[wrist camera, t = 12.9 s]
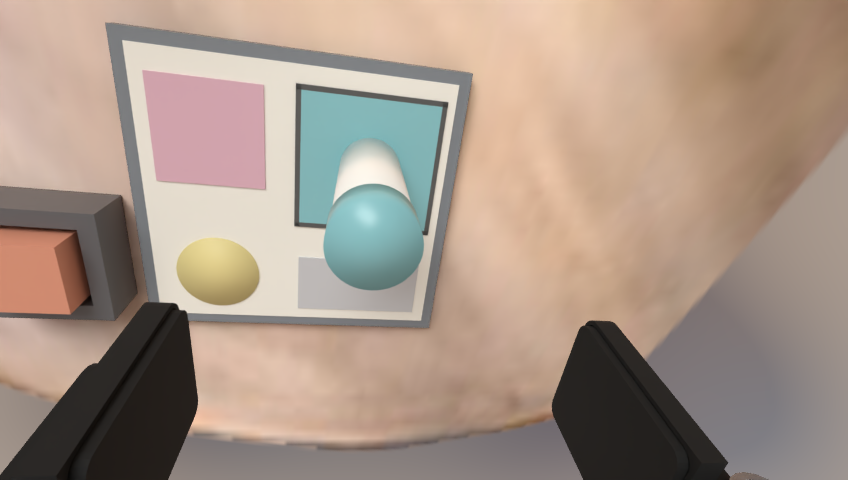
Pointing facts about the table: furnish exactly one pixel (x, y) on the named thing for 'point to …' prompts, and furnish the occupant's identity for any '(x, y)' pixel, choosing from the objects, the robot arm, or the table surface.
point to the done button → (41, 270)
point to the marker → (372, 220)
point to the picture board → (274, 171)
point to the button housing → (98, 240)
